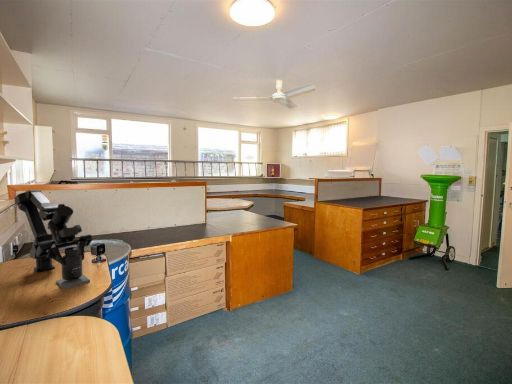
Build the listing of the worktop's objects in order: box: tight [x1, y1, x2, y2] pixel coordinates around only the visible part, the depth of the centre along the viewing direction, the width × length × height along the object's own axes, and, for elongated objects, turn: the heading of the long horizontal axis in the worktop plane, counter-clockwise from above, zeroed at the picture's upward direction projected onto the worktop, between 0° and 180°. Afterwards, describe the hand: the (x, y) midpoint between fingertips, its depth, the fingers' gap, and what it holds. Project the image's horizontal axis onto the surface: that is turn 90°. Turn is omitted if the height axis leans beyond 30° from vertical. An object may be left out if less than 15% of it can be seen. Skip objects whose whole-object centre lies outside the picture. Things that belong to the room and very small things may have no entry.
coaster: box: [55, 273, 91, 290], centre depth 105 cm, size 9×9×1 cm
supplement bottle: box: [61, 246, 83, 280], centre depth 104 cm, size 7×7×12 cm
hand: (73, 262), depth 103 cm, fingers closed on supplement bottle, 6 cm apart
